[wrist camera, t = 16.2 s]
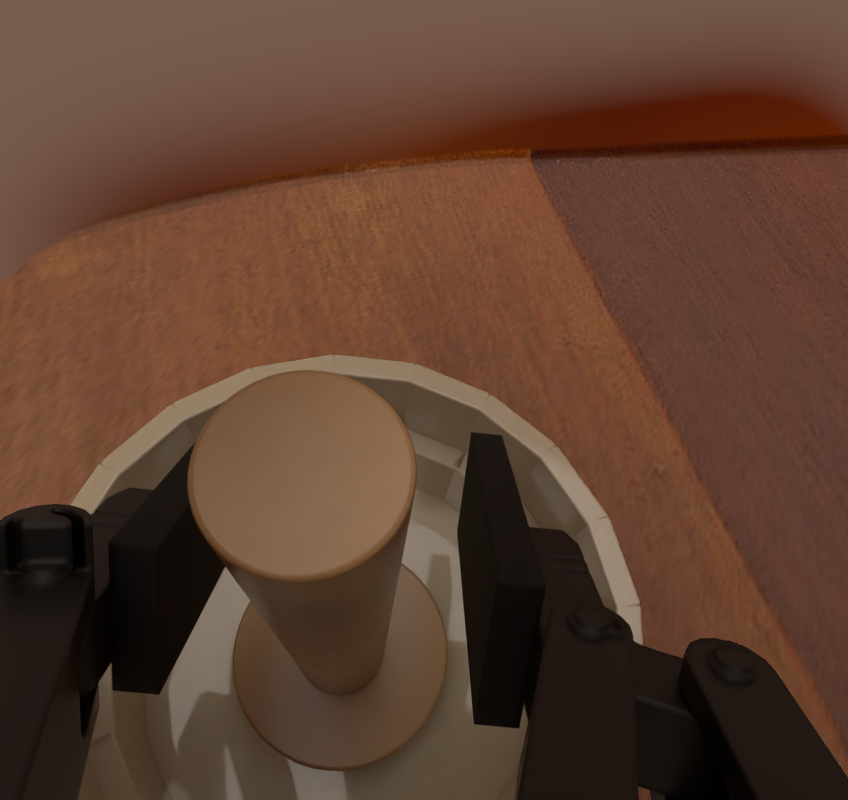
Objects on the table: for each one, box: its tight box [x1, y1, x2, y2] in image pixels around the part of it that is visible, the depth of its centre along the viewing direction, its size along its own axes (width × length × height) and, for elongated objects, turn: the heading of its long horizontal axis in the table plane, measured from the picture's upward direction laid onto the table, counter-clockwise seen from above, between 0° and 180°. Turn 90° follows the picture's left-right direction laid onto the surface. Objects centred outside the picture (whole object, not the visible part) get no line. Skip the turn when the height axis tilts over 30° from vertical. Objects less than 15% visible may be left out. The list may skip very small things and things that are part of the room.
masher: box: [187, 370, 447, 771], centre depth 13 cm, size 6×6×14 cm
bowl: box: [70, 355, 643, 800], centre depth 17 cm, size 13×13×6 cm
